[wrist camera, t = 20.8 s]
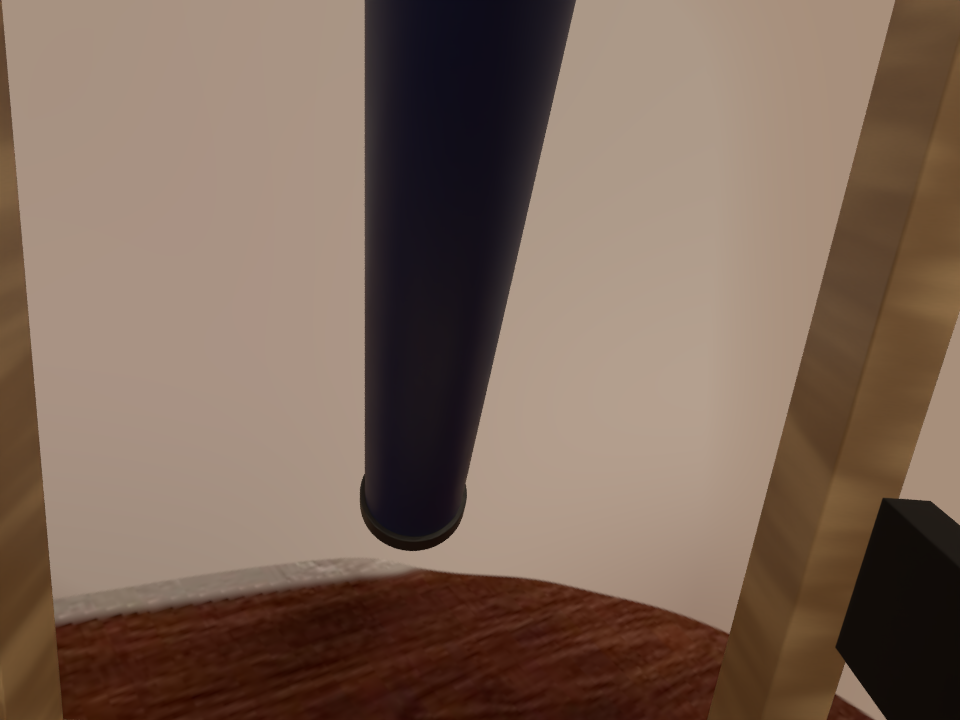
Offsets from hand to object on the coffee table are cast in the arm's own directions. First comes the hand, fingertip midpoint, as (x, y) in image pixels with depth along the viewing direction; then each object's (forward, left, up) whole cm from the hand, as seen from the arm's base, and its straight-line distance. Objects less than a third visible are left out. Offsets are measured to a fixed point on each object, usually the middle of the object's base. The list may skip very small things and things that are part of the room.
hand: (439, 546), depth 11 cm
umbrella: (+15, -15, -9) cm, 23 cm away
